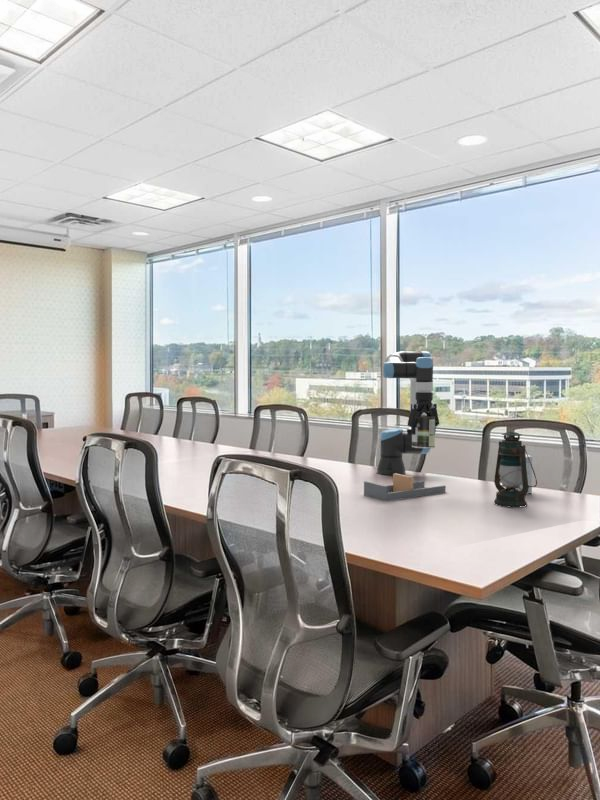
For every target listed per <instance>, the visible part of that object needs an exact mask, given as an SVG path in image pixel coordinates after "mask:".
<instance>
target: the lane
mask: <svg viewBox="0 0 600 800" xmlns="http://www.w3.org/2000/svg"><path fill="white" fill-rule="evenodd" d="M443 493H446V485H436V486H428V487H425V481H424V480H419V481H413V490H405V491H398V492H393V484H387V485H384V484H380V483H374V482H371V481H367V480H366V481H365V480H364V481H363V496H367V497H370V498H374V499H378V500H381V501H385V502H389V501H395V500H401V499H409V498H410V499H411V498H416V497H422V496H429V495H437V494H443Z"/></svg>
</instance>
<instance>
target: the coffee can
mask: <svg viewBox="0 0 600 800" xmlns="http://www.w3.org/2000/svg"><path fill="white" fill-rule="evenodd" d="M415 418H418V424H417V426H416V427H418V436H417V442H412V447H413V448H422V449H430V450H431V449H435V447H436V446H435V445H436V444H435V443H436V442H435V441H436V439H435V438H436V432H435V416H427V415H421V417H415Z"/></svg>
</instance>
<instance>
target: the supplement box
mask: <svg viewBox="0 0 600 800" xmlns="http://www.w3.org/2000/svg"><path fill="white" fill-rule="evenodd" d="M527 454H528V453H527ZM527 454H526V453H525V455H526V468H527V478H528V486H533V470H532V467H533V466H532V467H531V464H532V465H533V456H532V455H529V454H528V456H527ZM528 457H529V459H530V461H529V459H528ZM530 462H531V464H530ZM521 484H522V483H521ZM521 484H520V485H519V486H520V487H519V488H520V489H523V485H521ZM519 488H515V489H516V490H518V491H521V490H520V489H519ZM527 493H533V487H529V488H528V492H527Z"/></svg>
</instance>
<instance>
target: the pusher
mask: <svg viewBox="0 0 600 800" xmlns="http://www.w3.org/2000/svg"><path fill="white" fill-rule="evenodd" d="M413 482H414V476H410V475H406V474H402V475H401V474H396V473H395V474H393V475H392V485H393V492H398V491H405V490H413Z"/></svg>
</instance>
